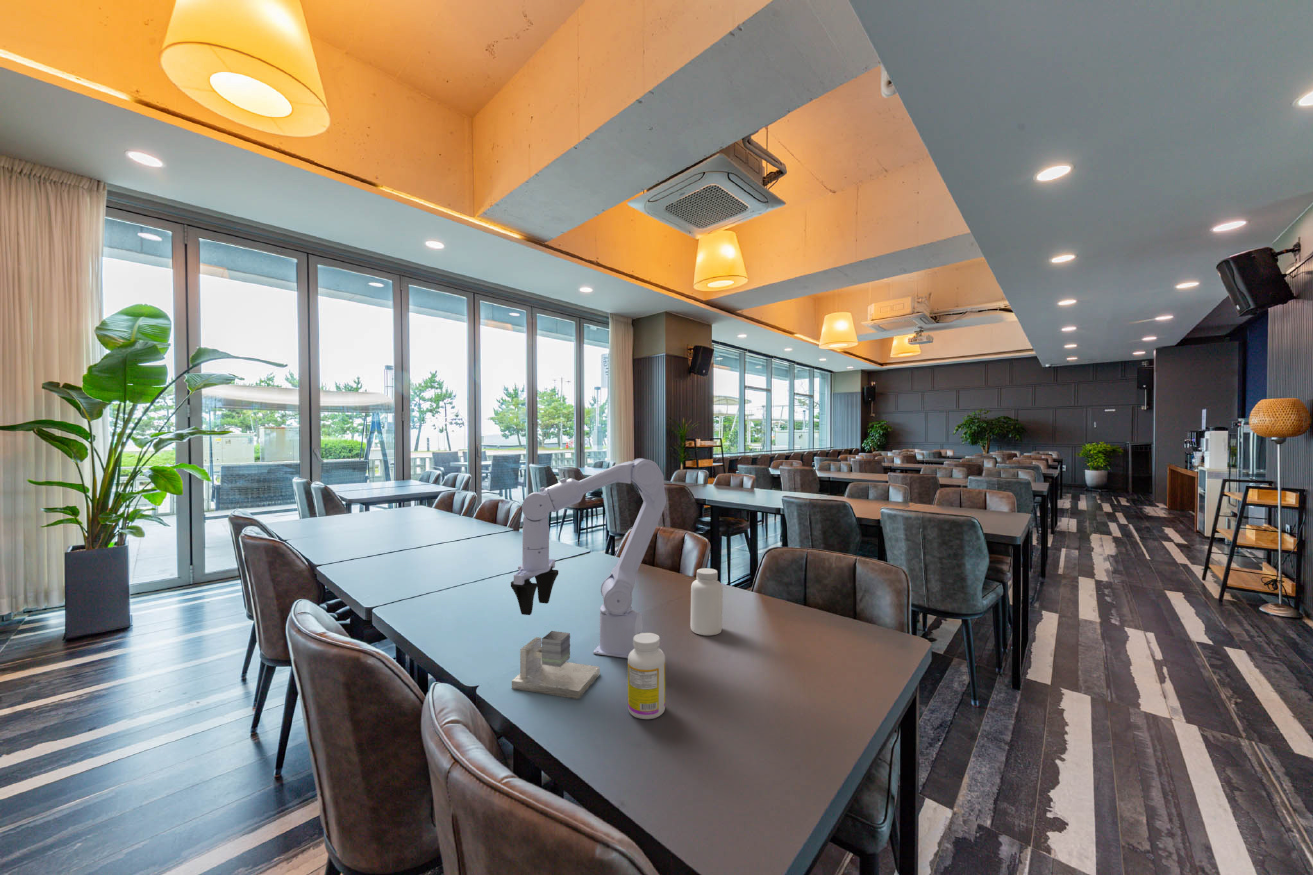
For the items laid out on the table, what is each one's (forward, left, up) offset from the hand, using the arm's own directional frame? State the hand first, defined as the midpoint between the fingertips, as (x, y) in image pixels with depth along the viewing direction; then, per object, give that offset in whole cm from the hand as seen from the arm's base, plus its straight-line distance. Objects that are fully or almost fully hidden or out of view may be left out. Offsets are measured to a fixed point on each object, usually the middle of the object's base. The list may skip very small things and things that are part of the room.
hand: (535, 608), depth 107 cm
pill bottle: (-34, -25, -11) cm, 44 cm away
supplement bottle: (-30, +14, -11) cm, 35 cm away
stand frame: (-10, +9, -10) cm, 17 cm away
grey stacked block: (-10, +10, -6) cm, 15 cm away
